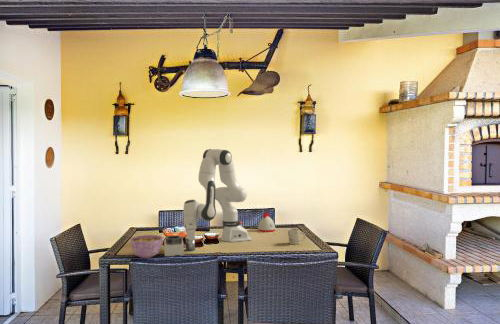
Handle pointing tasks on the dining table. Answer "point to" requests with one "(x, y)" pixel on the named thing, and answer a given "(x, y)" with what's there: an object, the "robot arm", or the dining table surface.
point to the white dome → (266, 224)
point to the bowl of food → (146, 245)
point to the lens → (189, 245)
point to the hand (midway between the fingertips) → (190, 244)
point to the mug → (294, 235)
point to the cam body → (173, 245)
